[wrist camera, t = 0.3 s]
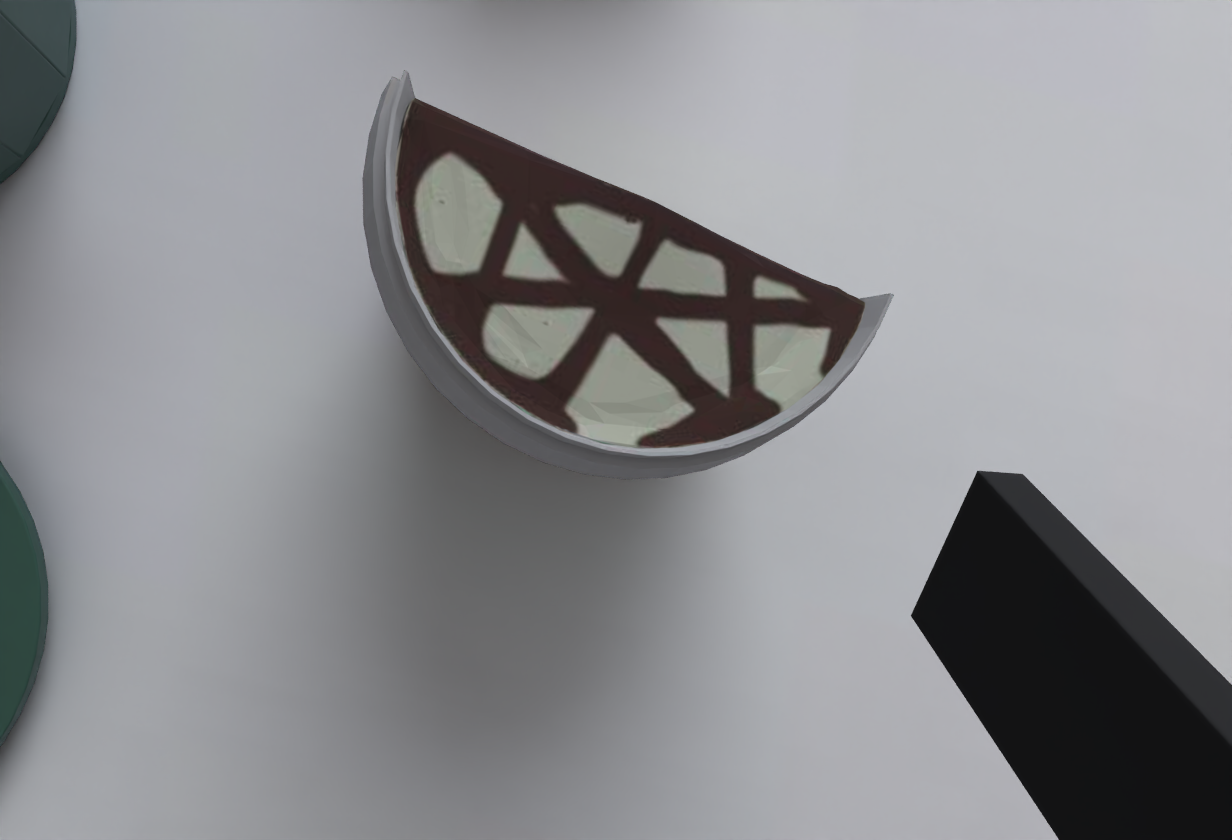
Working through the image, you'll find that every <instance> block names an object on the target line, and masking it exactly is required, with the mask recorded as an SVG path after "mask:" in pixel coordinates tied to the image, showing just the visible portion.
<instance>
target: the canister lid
mask: <svg viewBox="0 0 1232 840" xmlns="http://www.w3.org/2000/svg"><path fill="white" fill-rule="evenodd" d="M47 623H48V581H47V574H46V567H45V560H44V554H43V550H42V547H41V543H40V540H39V537H38V533H37V530H36V527H35V523H34V520H33V518H32V516H31V514H30V512H29V510H28V508H27V505H26V503H25V501H24V499H23V497H22V495H21V493H20V491H19V489H18V488H17V486H16V484H15V483H14V481H13V480H12V478H11V477H10V475H9V474H8V472H7V471H6V469H5V468H4V466H3V465H2V463H1V462H0V746H1V745H2V744H3V742H4V740H5V739H6V737H7V735H8V734H9V732H10V731H11V729H12V727H13V726H14V724H15V722H16V721H17V719H18V717H19V716H20V714H21V712H22V710H23V707H24V705H25V703H26V701H27V698H28V696H29V694H30V692H31V689H32V687H33V685H34V682H35V679H36V675H37V672H38V668H39V665H40V661H41V658H42V654H43V651H44V644H45V637H46V630H47Z"/></svg>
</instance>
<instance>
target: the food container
mask: <svg viewBox="0 0 1232 840" xmlns="http://www.w3.org/2000/svg"><path fill="white" fill-rule="evenodd" d="M363 224H364V230H365V235H366V241H367V246H368V252H369V258H370V263H371V269H372V272H373V274H374V277H375V280H376V283H377V286H378V289H379V292H380V294H381V297H382V300H383V303H384V306H385V309H386V312H387V313H388V315H389V317H390V319H391V321H392V323H393V325H394V326H395V328H396V330H397V332H398V334H399V336H400V338H401V339H402V341H403V343H404V345H405V347H406V349H407V351H408V352H409V354H410V355H411V356H412V357H413V359H414V360H415V361H416V363H417V364H418V365H419V367H420V368H421V369H422V371H423V372H424V373H425V375H426V376H427V377H428V378H429V380H430V381H431V382H432V384H433V385H434V386H435V388H436V389H437V390H438V391H440V392H441V393H442V394H443V395H444V396H445V397H446V398H447V399H448V400H449V401H450V402H451V403H452V404H453V405H454V406H455V407H456V408H457V409H458V410H459V411H460V412H462V413H463V414H464V415H465V416H466V417H467V418H468V419H469V420H471V421H472V422H474V423H475V424H477V425H478V426H479V427H481V428H482V429H484V430H485V431H487V432H488V433H490V434H491V435H492V436H494V437H495V438H497V439H498V440H500V441H501V442H503V443H504V444H506V445H508V446H510V447H512V448H514V449H517V450H519V451H521V452H523V453H525V454H527V455H529V456H531V457H533V458H535V459H538V460H540V461H542V462H544V463H548V464H551V465H554V466H558V467H561V468H565V469H568V470H571V471H575V472H578V473H582V474H587V475H595V476H603V477H611V478H619V479H648V478H668V477H673V476H678V475H683V474H688V473H693V472H698V471H702V470H707V469H710V468H712V467H715V466H717V465H720V464H723V463H725V462H728V461H731V460H733V459H736V458H738V457H741V456H744V455H745V454H747V453H749V452H751V451H752V450H754V449H756V448H758V447H759V446H761V445H763V444H764V443H766V442H768V441H770V440H771V439H773V438H775V437H777V436H778V435H780V434H782V433H783V432H785V431H787V430H788V429H790V428H792V427H794V426H795V425H796V424H797V423H799V422H800V421H801V420H802V419H804V418H805V417H806V416H807V415H809V414H810V413H811V412H812V411H814V410H815V409H816V408H817V407H819V406H820V405H821V404H822V403H824V402H825V401H826V400H827V399H828V398H829V396H830V395H831V394H832V393H833V392H834V391H835V390H836V389H837V388H838V386H839V385H840V384H841V383H842V382H843V381H844V380H845V379H846V378H847V376H848V375H849V374H850V373H851V372H852V371H853V369H854V368H855V366H856V365H857V363H858V362H859V360H860V358H861V357H862V355H863V354H864V352H865V351H866V349H867V348H868V346H869V345H870V343H871V342H872V340H873V338H874V336H875V334H876V332H877V330H878V329H879V327H880V325H881V322H882V320H883V318H884V316H885V314H886V311H887V309H888V307H889V305H890V303H891V300H892V298H893V296H894V295H893V294H891V293H890V294H884V295H879V296H873V297H867V298H861V299H858V298H856V297H854V296H851V295H849V294H847V293H846V292H844V291H842V290H841V289H839V288H838V287H834V286H831V285H827V284H823V283H821V282H819V281H816V280H814V279H811V278H809V277H806V276H804V275H802V274H800V273H798V272H795V271H793V270H791V269H789V268H787V267H785V266H783V265H780V264H778V263H776V262H774V261H772V260H770V259H768V258H766V257H763V256H761V255H759V254H757V253H755V252H753V251H751V250H749V249H747V248H745V247H743V246H741V245H739V244H737V243H735V242H732V241H730V240H728V239H726V238H724V237H722V236H720V235H718V234H716V233H714V232H712V231H711V230H709V229H707V228H705V227H703V226H701V225H699V224H697V223H695V222H693V221H691V220H689V219H687V218H685V217H683V216H681V215H679V214H678V213H676V212H674V211H672V210H670V209H668V208H666V207H664V206H662V205H660V204H658V203H656V202H654V201H652V200H649V199H647V198H644V197H642V196H639V195H637V194H634V193H632V192H629V191H627V190H624V189H622V188H619V187H617V186H614V185H612V184H609V183H607V182H604V181H602V180H599V179H597V178H594V177H592V176H589V175H587V174H585V173H582V172H580V171H578V170H575V169H573V168H571V167H568V166H566V165H563V164H561V163H559V162H556V161H554V160H552V159H549V158H547V157H544V156H542V155H540V154H538V153H535V152H533V151H531V150H529V149H526V148H524V147H522V146H520V145H518V144H515V143H513V142H511V141H509V140H507V139H504V138H502V137H500V136H498V135H495V134H493V133H491V132H489V131H487V130H484V129H482V128H480V127H478V126H476V125H473V124H471V123H469V122H467V121H465V120H462V119H460V118H458V117H456V116H453V115H451V114H449V113H447V112H444V111H442V110H440V109H438V108H436V107H433V106H431V105H429V104H427V103H424V102H422V101H420V100H418V99H416V98H415V96H414V92H413V88H412V85H411V81H410V78H409V74H408V72H407V71H405V70H404V71H403V75H402V78H401V80H399V79H397V78H395V77H392V78H391V80H390V81H389V83H388V85H387V86H386V88H385V90H384V91H383V93H382V95H381V98H380V101H379V104H378V108H377V111H376V114H375V117H374V121H373V124H372V127H371V130H370V133H369V139H368V146H367V153H366V160H365V167H364V173H363Z"/></svg>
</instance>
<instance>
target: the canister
mask: <svg viewBox="0 0 1232 840" xmlns="http://www.w3.org/2000/svg"><path fill="white" fill-rule="evenodd" d="M75 46H76V7H75V1H74V0H0V184H1V183H2V182H3V181H4V180H6V179H7V178H8V177H9V176H10V175H11V174H13V173H14V172H15V171H16V170H17V169H18V168H19V166H20V165H21V164H22V163H23V162H24V161H25V160H26V159H27V157H28V156H29V155H30V154H31V153H32V152H33V151H34V150H35V148H36V147H37V145H38V144H39V142H40V141H41V139H42V138H43V136H44V135H45V133H46V132H47V130H48V129H49V127H50V126H51V124H52V122H53V120H54V118H55V115H56V113H57V111H58V109H59V107H60V105H61V103H62V100H63V98H64V95H65V92H66V89H67V85H68V82H69V78H70V75H71V72H72V67H73V60H74V53H75Z"/></svg>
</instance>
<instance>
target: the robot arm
mask: <svg viewBox="0 0 1232 840" xmlns="http://www.w3.org/2000/svg"><path fill="white" fill-rule="evenodd" d="M911 617H912V618H913V620H914V621H915V623H916V624H917V626H918V627H919V629H920V630H921V632H922V633H923V635H924V636H925V638H926V639H927V641H928V642H929V644H930V645H931V647H932V648H933V650H934V651H935V653H936V654H937V656H938V657H939V659H940V660H941V662H942V663H943V665H944V666H945V668H946V669H947V671H948V672H949V674H950V675H951V677H952V679H953V680H954V682H955V683H956V685H957V686H958V688H959V689H960V691H961V692H962V694H963V695H964V697H965V698H966V700H967V701H968V703H969V704H970V706H971V707H972V709H973V710H974V712H975V713H976V715H977V716H978V718H979V719H980V721H981V722H982V724H983V725H984V727H985V728H986V730H987V731H988V733H989V734H990V736H991V737H992V739H993V741H994V742H995V744H996V745H997V747H998V748H999V750H1000V751H1001V753H1002V754H1003V756H1004V757H1005V759H1006V760H1007V762H1008V763H1009V765H1010V766H1011V768H1012V769H1013V771H1014V772H1015V774H1016V775H1017V777H1018V778H1019V780H1020V781H1021V783H1022V784H1023V786H1024V787H1025V789H1026V790H1027V792H1028V793H1029V795H1030V796H1031V798H1032V799H1033V801H1034V803H1035V804H1036V806H1037V807H1038V809H1039V810H1040V812H1041V813H1042V815H1043V816H1044V818H1045V819H1046V821H1047V822H1048V824H1049V825H1050V827H1051V828H1052V830H1053V831H1054V833H1055V834H1056V836H1057V837H1058V839H1059V840H1232V685H1231V684H1230V683H1229V682H1228V681H1227V680H1226V679H1225V678H1224V677H1223V676H1222V675H1221V674H1220V673H1219V672H1218V671H1217V670H1216V669H1215V668H1214V667H1213V666H1212V665H1211V664H1210V663H1209V662H1208V661H1207V660H1206V659H1205V658H1204V657H1203V655H1202V654H1201V653H1200V652H1199V651H1198V650H1197V649H1196V648H1195V647H1194V646H1193V645H1192V644H1191V643H1190V642H1189V641H1188V640H1187V639H1186V638H1185V637H1184V636H1183V635H1182V634H1181V633H1180V632H1179V631H1178V630H1177V629H1176V628H1175V627H1174V626H1173V625H1172V624H1171V623H1170V622H1169V621H1168V620H1167V619H1166V618H1165V617H1164V616H1163V615H1162V614H1161V613H1160V612H1159V611H1158V610H1157V609H1156V608H1155V607H1154V606H1153V605H1152V604H1151V603H1150V602H1149V601H1148V600H1147V599H1146V598H1145V597H1144V596H1143V595H1142V594H1141V593H1140V592H1139V591H1138V590H1137V589H1136V588H1135V587H1134V586H1133V585H1132V584H1131V583H1130V582H1129V581H1128V580H1127V579H1126V578H1125V577H1124V576H1123V575H1122V574H1121V573H1120V572H1119V571H1118V570H1117V569H1116V568H1115V567H1114V566H1113V565H1112V564H1111V563H1110V562H1109V561H1108V560H1107V559H1106V558H1105V557H1104V556H1103V555H1102V554H1101V553H1100V552H1099V551H1098V550H1097V549H1096V548H1095V547H1094V546H1093V545H1092V544H1091V543H1090V542H1089V541H1088V540H1087V539H1086V538H1085V537H1084V535H1083V534H1082V533H1081V532H1080V531H1079V530H1078V529H1077V528H1076V527H1075V526H1074V525H1073V524H1072V523H1071V522H1070V521H1069V520H1068V519H1067V518H1066V517H1065V516H1064V515H1063V514H1062V513H1061V512H1060V511H1059V510H1058V509H1057V508H1056V507H1055V506H1054V505H1053V504H1052V503H1051V502H1050V501H1049V500H1048V499H1047V498H1046V497H1045V496H1044V495H1043V494H1042V493H1041V492H1040V491H1039V490H1038V489H1037V488H1036V487H1035V486H1034V485H1033V484H1032V483H1031V482H1030V481H1029V480H1028V479H1027V478H1026V477H1025V476H1024V475H1023V474H1014V473H1000V472H986V471H977V473H976V475H975V478H974V480H973V482H972V484H971V486H970V488H969V491H968V493H967V495H966V497H965V499H964V502H963V504H962V506H961V508H960V510H959V512H958V515H957V517H956V519H955V521H954V523H953V525H952V528H951V530H950V532H949V534H948V536H947V538H946V541H945V543H944V545H943V547H942V549H941V551H940V554H939V556H938V558H937V560H936V562H935V565H934V567H933V569H932V571H931V573H930V575H929V578H928V580H927V582H926V584H925V586H924V588H923V591H922V593H921V595H920V597H919V599H918V601H917V604H916V606H915V608H914V610H913V612H912V614H911Z"/></svg>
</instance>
